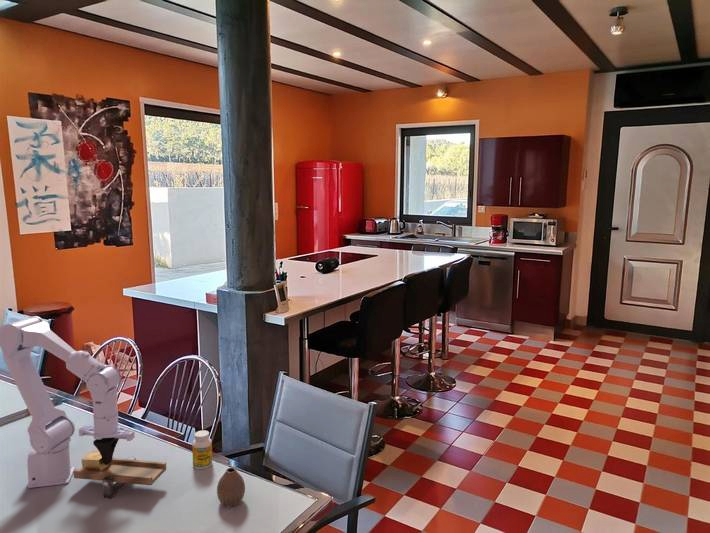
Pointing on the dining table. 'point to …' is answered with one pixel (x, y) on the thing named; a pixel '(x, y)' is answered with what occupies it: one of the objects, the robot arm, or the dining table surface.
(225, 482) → the vase
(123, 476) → the beam
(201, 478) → the dining table surface
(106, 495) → the stand
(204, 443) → the supplement bottle
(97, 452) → the block
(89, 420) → the dining table surface
